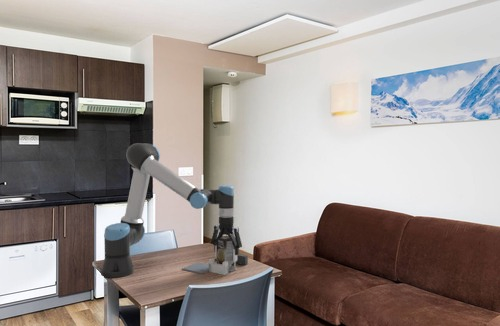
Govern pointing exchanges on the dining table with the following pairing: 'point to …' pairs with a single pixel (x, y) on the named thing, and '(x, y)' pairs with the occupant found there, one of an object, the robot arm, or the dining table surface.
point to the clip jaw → (218, 267)
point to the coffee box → (225, 252)
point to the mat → (197, 268)
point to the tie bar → (242, 259)
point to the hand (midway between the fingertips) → (226, 259)
